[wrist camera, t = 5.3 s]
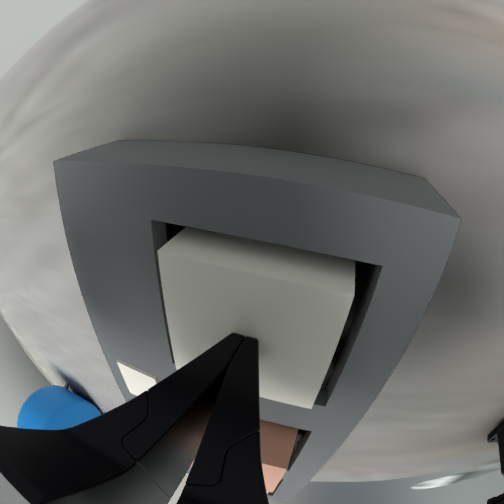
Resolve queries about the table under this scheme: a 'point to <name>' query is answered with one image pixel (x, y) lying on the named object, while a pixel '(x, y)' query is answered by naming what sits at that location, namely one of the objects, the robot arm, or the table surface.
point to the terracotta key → (275, 451)
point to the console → (263, 229)
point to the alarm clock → (55, 409)
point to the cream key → (257, 305)
